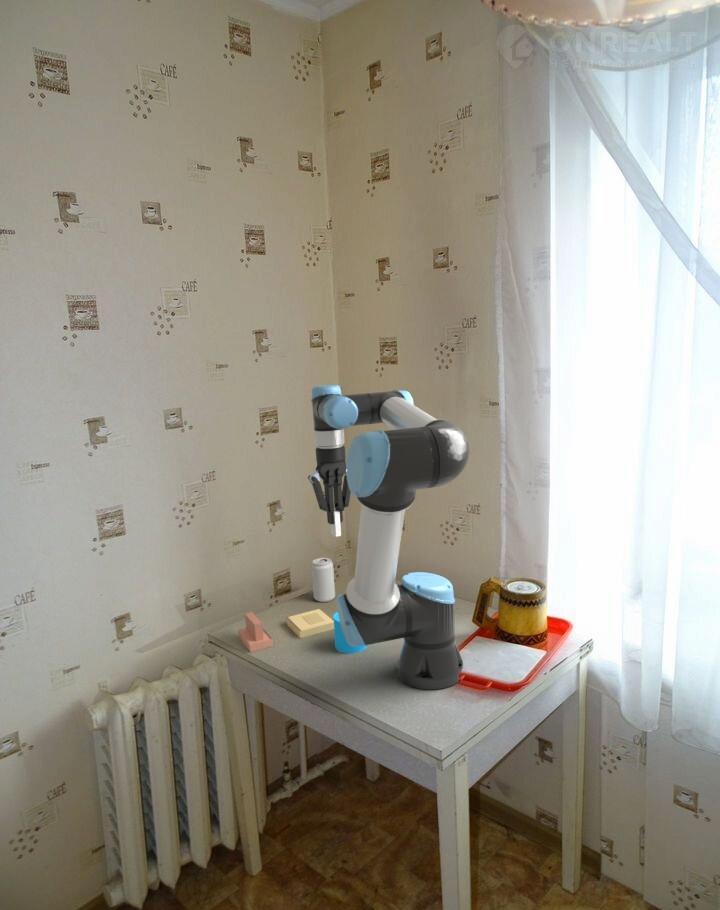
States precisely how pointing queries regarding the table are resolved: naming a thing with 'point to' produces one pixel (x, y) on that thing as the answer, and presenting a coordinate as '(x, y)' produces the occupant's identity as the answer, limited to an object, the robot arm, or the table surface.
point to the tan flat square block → (310, 623)
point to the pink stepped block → (254, 634)
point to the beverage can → (323, 579)
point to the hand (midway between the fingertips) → (336, 535)
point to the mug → (343, 639)
